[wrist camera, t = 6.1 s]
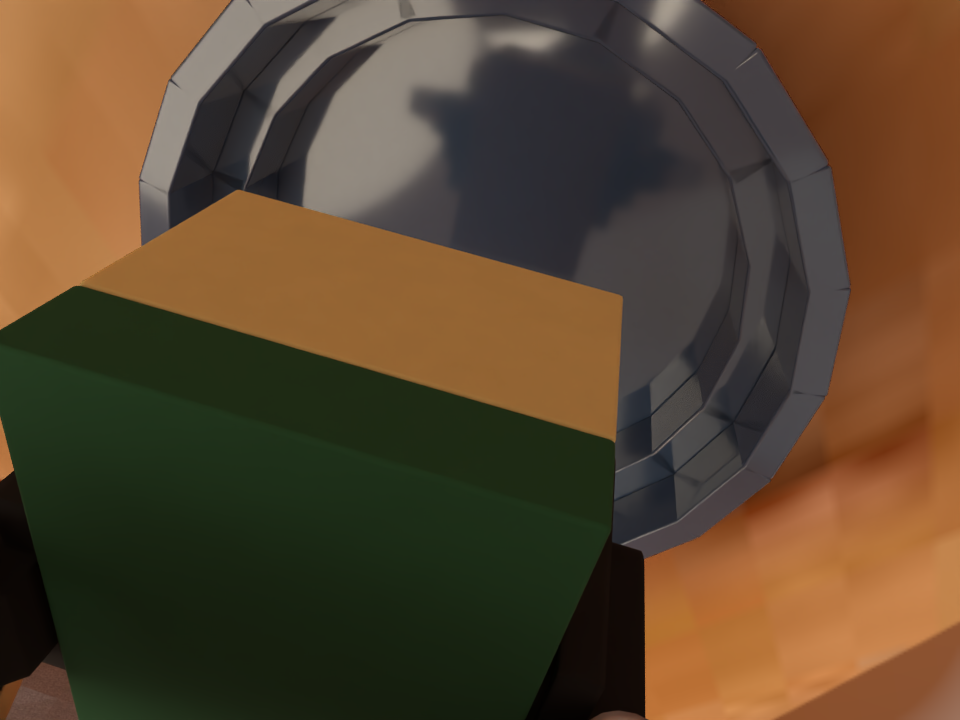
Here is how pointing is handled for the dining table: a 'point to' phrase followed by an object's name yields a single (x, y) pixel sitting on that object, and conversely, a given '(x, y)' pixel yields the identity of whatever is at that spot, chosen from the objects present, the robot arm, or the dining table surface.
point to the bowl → (555, 196)
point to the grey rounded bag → (44, 696)
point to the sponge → (312, 470)
